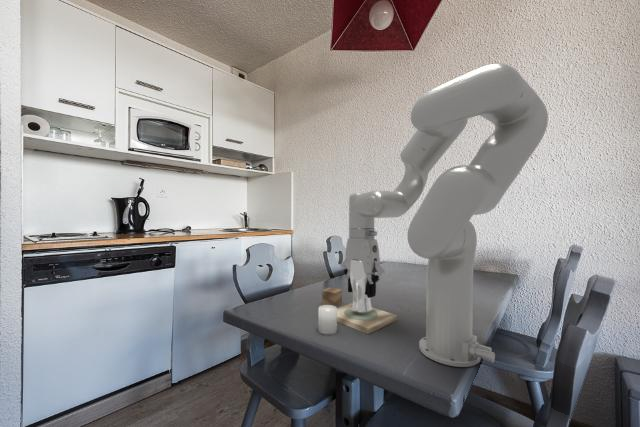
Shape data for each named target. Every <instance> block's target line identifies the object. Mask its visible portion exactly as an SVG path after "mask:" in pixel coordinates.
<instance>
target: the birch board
mask: <svg viewBox="0 0 640 427" xmlns="http://www.w3.org/2000/svg"><path fill="white" fill-rule="evenodd" d="M351 306H352V302H351V303H348V304H346V305H343V306H340V307H339V306H338V307H337V323H339V324H342V325H344V326H346V327H348V328H352V329H354V330H356V331H358V332H361V333H363V334H366V335H369V334H371V333H374V332H375V331H378V330H380V329H382V328H384V327H387V326H389V325H390V324H392V323H394V322H396V321H398V315H397V314H394V313H392V312H388V311H385V310H381V309H379V308H376V307H372V310H371V311H370V312H366V313H360V312H355V311H353V310H352V309H351Z"/></svg>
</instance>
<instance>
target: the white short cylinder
mask: <svg viewBox="0 0 640 427" xmlns="http://www.w3.org/2000/svg"><path fill="white" fill-rule="evenodd" d="M337 308H338V306H337V307H335V306H333V305H322V304H321V305H319V307H318V317H317V319H318V324H317V325H318V330H317V331H318V332H319V333H320V334H323V335H333V334H335V333H337V331H338V322H337Z"/></svg>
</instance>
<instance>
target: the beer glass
mask: <svg viewBox="0 0 640 427" xmlns="http://www.w3.org/2000/svg"><path fill="white" fill-rule="evenodd" d="M372 272H373V270H372ZM371 277H372V274H371ZM350 282H351V288H352V292H351V293H352V302H351V303H352V306H351V309H352V310H353V311H355V312H360V313H366V312H370V311H371V310H372V308H373V307H372V303H371V301H372V300H371V298H368V297H367V284H369V281H368V278H367V274H366V273H365V271H364V267H363V261H357V260H352V259H351V262H350Z"/></svg>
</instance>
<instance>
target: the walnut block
mask: <svg viewBox="0 0 640 427" xmlns="http://www.w3.org/2000/svg"><path fill="white" fill-rule="evenodd" d="M321 292H322V293H321V296H322V298H321V306H322V305H333V306H335V307H337V308H338V307H339V306H340V305H342V304H343V289H341V288H335V287H331V286H330V287H327V288H325V289H323V290H322V291H321ZM338 305H339V306H338Z"/></svg>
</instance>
